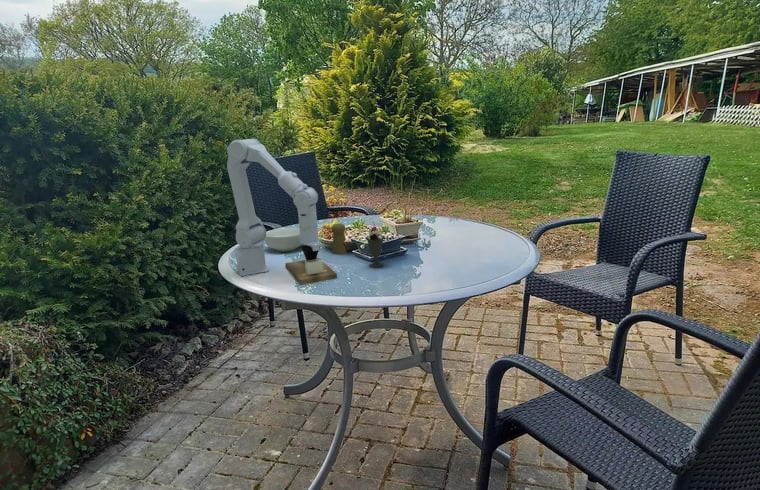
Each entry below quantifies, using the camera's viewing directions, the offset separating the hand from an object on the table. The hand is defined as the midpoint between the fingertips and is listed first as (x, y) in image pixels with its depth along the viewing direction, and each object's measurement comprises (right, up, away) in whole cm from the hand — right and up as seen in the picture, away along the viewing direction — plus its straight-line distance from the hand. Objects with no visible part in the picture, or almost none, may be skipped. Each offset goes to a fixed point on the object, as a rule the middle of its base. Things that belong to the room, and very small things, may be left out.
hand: (311, 266), depth 147 cm
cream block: (+1, -2, -2) cm, 3 cm away
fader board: (-1, -2, +3) cm, 4 cm away
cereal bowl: (-15, +5, +33) cm, 37 cm away
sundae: (+21, 0, +7) cm, 22 cm away
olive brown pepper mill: (+7, +4, +25) cm, 27 cm away
